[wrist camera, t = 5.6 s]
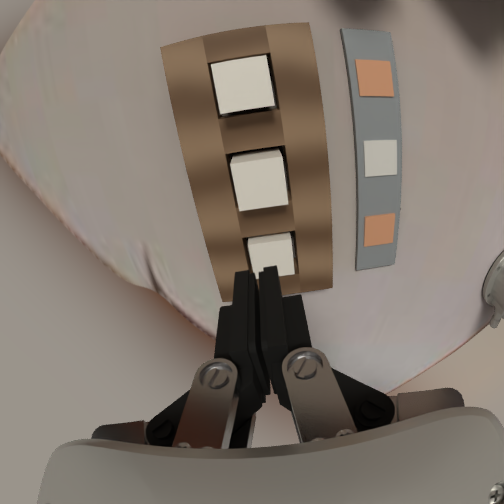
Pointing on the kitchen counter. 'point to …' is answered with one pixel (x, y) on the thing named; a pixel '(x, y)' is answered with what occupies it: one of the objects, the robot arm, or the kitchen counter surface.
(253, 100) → the button
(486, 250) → the kitchen counter surface
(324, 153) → the button board
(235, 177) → the button middle
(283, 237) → the button
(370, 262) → the pattern card
